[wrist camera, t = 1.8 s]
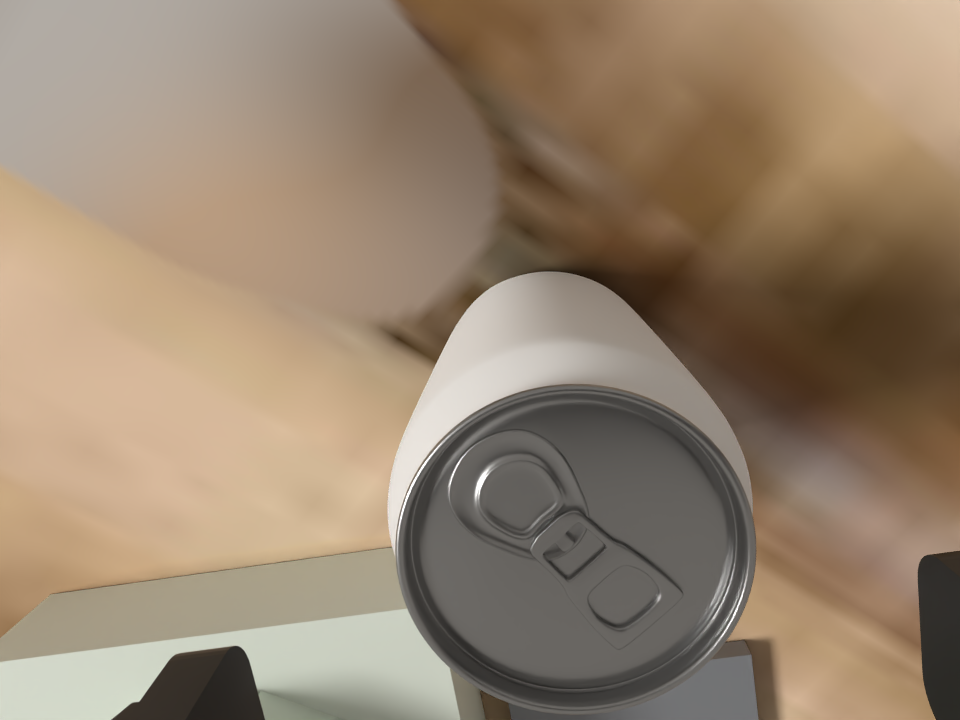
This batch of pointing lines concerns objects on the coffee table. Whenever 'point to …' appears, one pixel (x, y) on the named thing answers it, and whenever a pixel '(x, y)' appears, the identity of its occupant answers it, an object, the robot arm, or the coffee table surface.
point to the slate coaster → (688, 694)
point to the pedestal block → (238, 644)
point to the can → (569, 504)
